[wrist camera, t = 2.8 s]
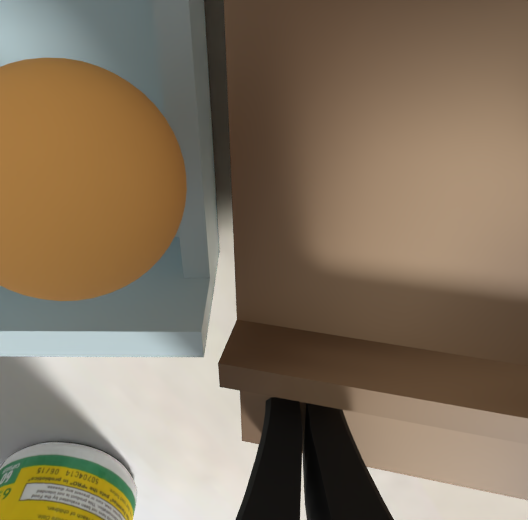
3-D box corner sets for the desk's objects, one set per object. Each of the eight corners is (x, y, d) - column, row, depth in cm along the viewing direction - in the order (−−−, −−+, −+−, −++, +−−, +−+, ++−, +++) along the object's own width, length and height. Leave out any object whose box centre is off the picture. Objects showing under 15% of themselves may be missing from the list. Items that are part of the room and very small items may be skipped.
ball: (175, 91, 5) (-190, 107, 5) (200, 337, 7) (-59, 365, 7) (173, 32, 8) (-56, 39, 8) (191, 219, 10) (9, 233, 10)
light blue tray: (195, -143, 9) (152, -183, 6) (219, 251, 14) (203, 357, 10) (-218, -143, 9) (-506, -182, 6) (-51, 250, 14) (-153, 355, 10)
